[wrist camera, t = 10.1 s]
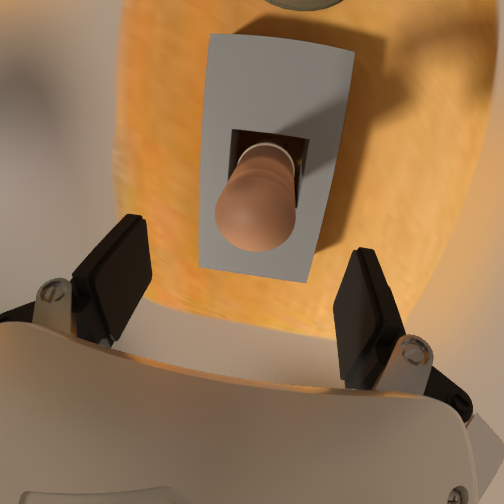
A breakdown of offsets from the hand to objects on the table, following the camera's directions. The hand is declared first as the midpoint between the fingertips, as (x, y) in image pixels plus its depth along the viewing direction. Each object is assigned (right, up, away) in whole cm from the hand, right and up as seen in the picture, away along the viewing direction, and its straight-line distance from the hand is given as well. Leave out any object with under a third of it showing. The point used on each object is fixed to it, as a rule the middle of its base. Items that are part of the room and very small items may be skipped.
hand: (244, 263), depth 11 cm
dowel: (+2, +9, +13) cm, 16 cm away
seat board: (+2, +9, +13) cm, 16 cm away
